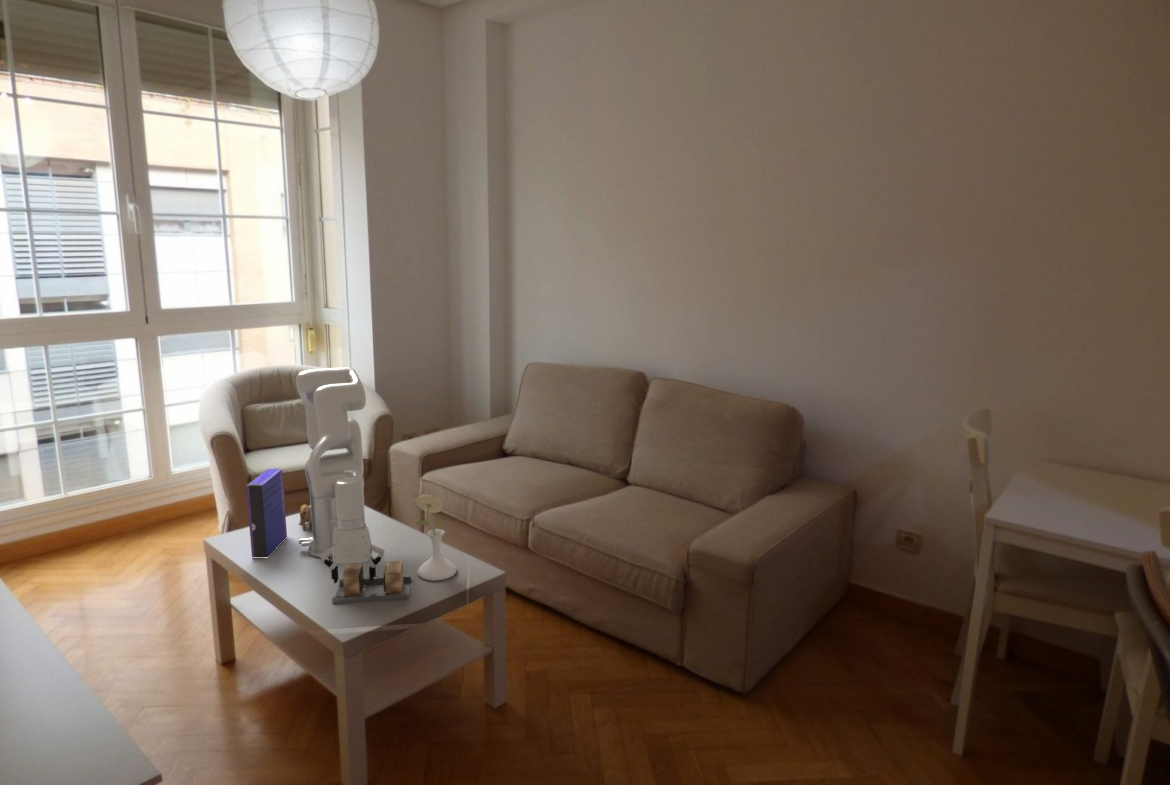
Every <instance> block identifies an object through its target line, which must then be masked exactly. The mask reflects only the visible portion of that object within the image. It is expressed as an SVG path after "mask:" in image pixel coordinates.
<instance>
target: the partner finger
mask: <svg viewBox="0 0 1170 785" xmlns="http://www.w3.org/2000/svg"><path fill="white" fill-rule="evenodd" d="M403 561H404V560H390V561H389V560H388V561H387V564H386V565H385V569H384V571H383V578H384V592H386V593H400V592H402V588H403V575H404V564H403Z"/></svg>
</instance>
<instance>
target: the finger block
mask: <svg viewBox="0 0 1170 785" xmlns="http://www.w3.org/2000/svg"><path fill="white" fill-rule="evenodd" d="M342 577H343V578H342V579H343V582H344V596H349V595H361V592H362V588H363V585H364V577H365V576H364V567H363V563H362V564H346V567H345V569H344V572H343V575H342Z"/></svg>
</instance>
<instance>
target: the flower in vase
mask: <svg viewBox="0 0 1170 785" xmlns="http://www.w3.org/2000/svg"><path fill="white" fill-rule="evenodd" d="M441 501H442V500H441V499H439V498H438V497H434V495H432V494H430V495H429V494H422V495H421V496H420V495H419V496H418V497H416V502H415V504H416V505H417V507H418V508H419V509H420V510H422V511H424V512H427V513H426V520H424V519H420V520H418V521H417V522H416V525H421V526H423V527H427V526H429V527H430V530H428V531H427V535H428V536H429V538H430V540H431V545H432V554H431V557H430V558H428V559H427V560H426V561H425V562H424V563H422V564H421V565H420V567H419V568H418V569H417V570H418V571H417V575H418V577H420V578H421V579H422V580H426V581H434V582H436V581H438V582H439V581H442V580H443V581H444V580H447V579H450V578H452V577H453V576H454V575H456V573H457V567H456V565H455V563H453V562H452V561H451V560H449V559H447V558H445V557H444V556H443V554H442V552H441V542H442V539H443V536H444V535H445V530H443V529H438V528H440V527H441V526H442V525H443V524H444V523H445V521H439V522H436V524H435V525H434V526H433V527H432V525H431V523H430V521H429V514H430V513H431V514H435V513H439V512H442V510H443V507H444V504H443V503H442V502H441Z"/></svg>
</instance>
